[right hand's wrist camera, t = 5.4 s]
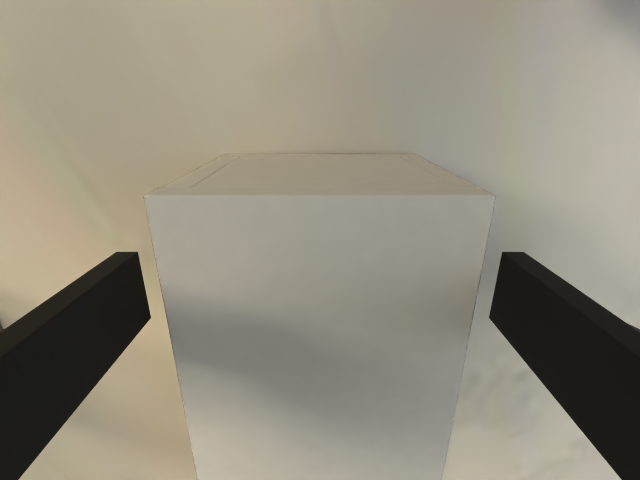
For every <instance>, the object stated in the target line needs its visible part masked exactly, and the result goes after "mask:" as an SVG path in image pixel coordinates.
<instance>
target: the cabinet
mask: <svg viewBox="0 0 640 480" xmlns="http://www.w3.org/2000/svg"><path fill="white" fill-rule="evenodd" d="M495 198H496V196H495V195H493V194H492V193H490V192H488V191H486V190H484V189H482V188H479V187H477V186H475V185H473V184H471V183H469V182H467V181H465V180H463V179H461V178H459V177H457V176H455V175H454V174H452V173H450V172H448V171H446V170H444V169H442V168H440V167H438V166H436V165H434V164H432V163H430V162H428V161H426V160H425V159H423V158H421V157H419V156H417V155H415V154H224V155H222V156H220V157H219V158H217V159H215V160H213V161H211V162H209V163H207V164H205V165H203V166H201V167H199V168H197V169H196V170H194V171H192V172H190V173H188V174H186V175H184V176H182V177H180V178H178V179H176V180H174V181H172V182H170V183H168V184H166V185H164V186H162V187H160V188H157V189H155V190H154V191H152V192H150V193H148V194H146V195H144V202H145V207H146V212H147V218H148V223H149V228H150V233H151V239H152V244H153V249H154V254H155V260H156V265H157V270H158V275H159V280H160V286H161V291H162V296H163V301H164V307H165V312H166V317H167V322H168V327H169V333H170V338H171V343H172V348H173V354H174V359H175V364H176V369H177V375H178V380H179V385H180V390H181V395H182V401H183V406H184V411H185V416H186V422H187V427H188V432H189V437H190V442H191V448H192V453H193V458H194V463H195V469H196V474H197V479H198V480H442V476H443V471H444V466H445V460H446V455H447V450H448V445H449V439H450V434H451V429H452V424H453V418H454V413H455V408H456V403H457V397H458V392H459V387H460V382H461V376H462V371H463V366H464V361H465V355H466V350H467V345H468V340H469V334H470V329H471V324H472V319H473V313H474V308H475V303H476V298H477V292H478V287H479V282H480V277H481V271H482V266H483V261H484V256H485V250H486V245H487V240H488V235H489V229H490V224H491V219H492V214H493V208H494V203H495Z"/></svg>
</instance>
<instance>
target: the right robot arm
mask: <svg viewBox="0 0 640 480" xmlns="http://www.w3.org/2000/svg"><path fill="white" fill-rule="evenodd" d="M150 318H151V316H150V311H149V306H148V301H147V296H146V291H145V286H144V281H143V276H142V271H141V266H140V261H139V256H138V252H116V253H114V254H113V255H111V256H110V257H109V258H107V259H106V260H104V261H103V262H101V263H100V264H98V265H97V266H96V267H94V268H93V269H91V270H90V271H88V272H87V273H85V274H84V275H83V276H81V277H80V278H78V279H77V280H75V281H74V282H72V283H71V284H70V285H68V286H67V287H65V288H64V289H62V290H61V291H59V292H58V293H56V294H55V295H54V296H52V297H51V298H49V299H48V300H46V301H45V302H43V303H42V304H41V305H39V306H38V307H36V308H35V309H33V310H32V311H30V312H29V313H28V314H26V315H25V316H23V317H22V318H20V319H19V320H17V321H16V322H15V323H13V324H12V325H10V326H9V327H7V328H5V329H3V330H1V331H0V480H18V479H19V478H20V477H21V476H22V475H23V473H24V472H25V471H26V470H27V468H28V467H29V466H30V465H31V464H32V462H33V461H34V460H35V459H36V457H37V456H38V455H39V454H40V453H41V451H42V450H43V449H44V448H45V446H46V445H47V444H48V443H49V442H50V440H51V439H52V438H53V437H54V435H55V434H56V433H57V432H58V431H59V429H60V428H61V427H62V426H63V424H64V423H65V422H66V421H67V420H68V418H69V417H70V416H71V415H72V413H73V412H74V411H75V410H76V409H77V407H78V406H79V405H80V404H81V402H82V401H83V400H84V399H85V398H86V396H87V395H88V394H89V393H90V391H91V390H92V389H93V388H94V387H95V385H96V384H97V383H98V382H99V380H100V379H101V378H102V377H103V376H104V374H105V373H106V372H107V371H108V369H109V368H110V367H111V366H112V365H113V363H114V362H115V361H116V360H117V358H118V357H119V356H120V355H121V354H122V352H123V351H124V350H125V349H126V348H127V346H128V345H129V344H130V343H131V341H132V340H133V339H134V338H135V337H136V335H137V334H138V333H139V332H140V330H141V329H142V328H143V327H144V326H145V324H146V323H147V322H148V321H149V319H150ZM489 318H490V319H491V321H492V322H493V323H494V324H495V326H496V327H497V328H498V329H499V330H500V332H501V333H502V334H503V335H504V337H505V338H506V339H507V340H508V341H509V343H510V344H511V345H512V346H513V348H514V349H515V350H516V351H517V352H518V354H519V355H520V356H521V357H522V358H523V360H524V361H525V362H526V363H527V365H528V366H529V367H530V368H531V369H532V371H533V372H534V373H535V374H536V376H537V377H538V378H539V379H540V380H541V382H542V383H543V384H544V385H545V387H546V388H547V389H548V390H549V391H550V393H551V394H552V395H553V396H554V398H555V399H556V400H557V401H558V402H559V404H560V405H561V406H562V407H563V409H564V410H565V411H566V412H567V413H568V415H569V416H570V417H571V418H572V420H573V421H574V422H575V423H576V424H577V426H578V427H579V428H580V429H581V431H582V432H583V433H584V434H585V435H586V437H587V438H588V439H589V440H590V442H591V443H592V444H593V445H594V446H595V448H596V449H597V450H598V451H599V453H600V454H601V455H602V456H603V457H604V459H605V460H606V461H607V462H608V464H609V465H610V466H611V467H612V468H613V470H614V471H615V472H616V473H617V475H618V476H619V477H620V478H621V479H622V480H640V329H638V328H636V327H634V326H631V325H629V324H627V323H625V322H624V321H623V320H621V319H620V318H618V317H617V316H615V315H614V314H612V313H611V312H610V311H608V310H607V309H605V308H604V307H602V306H601V305H599V304H598V303H597V302H595V301H594V300H592V299H591V298H589V297H588V296H586V295H585V294H584V293H582V292H581V291H579V290H578V289H576V288H575V287H573V286H572V285H570V284H569V283H568V282H566V281H565V280H563V279H562V278H560V277H559V276H557V275H556V274H555V273H553V272H552V271H550V270H549V269H547V268H546V267H544V266H543V265H542V264H540V263H539V262H537V261H536V260H534V259H533V258H531V257H530V256H529V255H527V254H526V253H524V252H502V256H501V261H500V266H499V271H498V276H497V281H496V286H495V291H494V296H493V301H492V306H491V311H490V316H489Z"/></svg>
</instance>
